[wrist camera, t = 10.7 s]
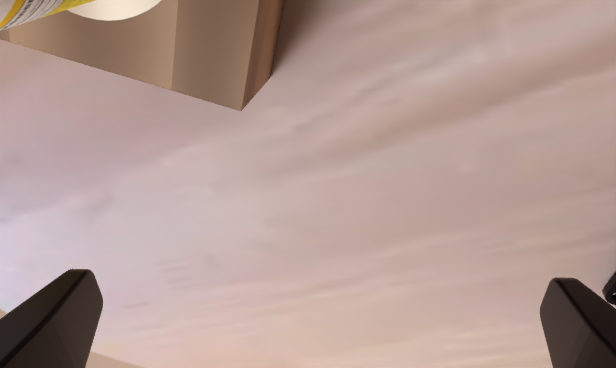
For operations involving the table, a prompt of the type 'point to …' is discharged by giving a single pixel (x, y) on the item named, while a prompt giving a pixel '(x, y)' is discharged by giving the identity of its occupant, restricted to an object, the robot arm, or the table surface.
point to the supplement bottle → (32, 10)
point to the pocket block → (167, 43)
